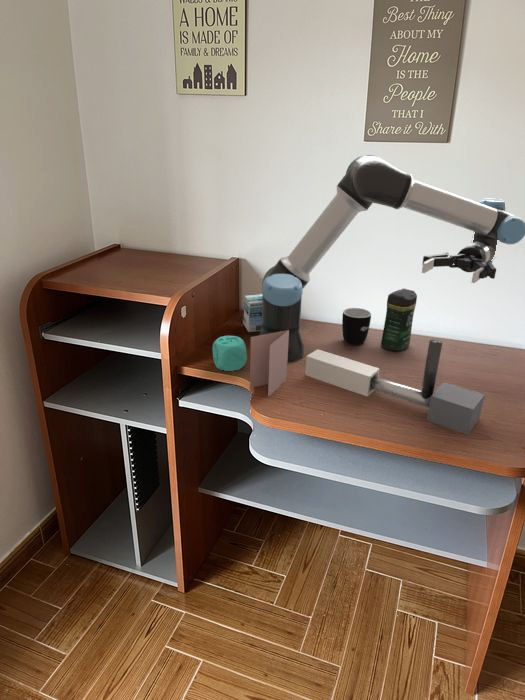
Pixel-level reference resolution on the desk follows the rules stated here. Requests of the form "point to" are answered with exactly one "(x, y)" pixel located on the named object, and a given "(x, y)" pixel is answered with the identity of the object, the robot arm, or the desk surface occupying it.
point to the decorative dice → (229, 353)
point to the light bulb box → (253, 312)
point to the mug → (355, 325)
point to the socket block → (455, 408)
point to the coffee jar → (399, 319)
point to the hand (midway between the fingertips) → (448, 272)
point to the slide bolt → (408, 392)
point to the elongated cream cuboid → (340, 371)
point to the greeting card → (269, 360)
